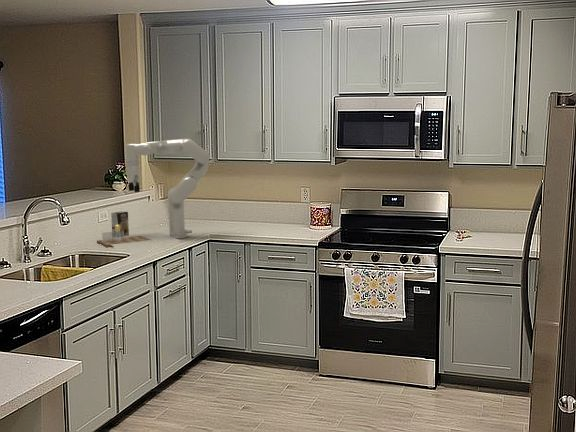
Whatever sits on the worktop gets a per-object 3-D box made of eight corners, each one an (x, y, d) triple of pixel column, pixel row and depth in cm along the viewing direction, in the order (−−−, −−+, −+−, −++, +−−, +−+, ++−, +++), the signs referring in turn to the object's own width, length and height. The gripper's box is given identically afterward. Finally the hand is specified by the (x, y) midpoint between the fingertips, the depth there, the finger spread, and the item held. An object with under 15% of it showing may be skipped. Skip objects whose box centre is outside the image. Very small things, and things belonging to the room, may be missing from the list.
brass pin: (119, 240, 445) (119, 224, 443) (121, 241, 442) (120, 224, 441) (114, 240, 443) (114, 224, 442) (116, 241, 441) (115, 225, 439)
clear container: (118, 238, 452) (117, 228, 451) (125, 241, 441) (124, 231, 441) (97, 240, 446) (97, 230, 445) (104, 243, 435) (104, 233, 434)
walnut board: (140, 238, 461) (140, 235, 460) (151, 242, 445) (151, 239, 444) (96, 242, 446) (96, 240, 446) (106, 247, 430) (106, 245, 430)
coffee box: (119, 238, 460) (118, 213, 457) (112, 238, 463) (110, 212, 461) (129, 236, 467) (128, 211, 465) (122, 235, 471) (120, 211, 468)
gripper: (122, 163, 454) (123, 190, 456) (132, 164, 439) (133, 193, 442) (133, 162, 458) (135, 189, 460) (143, 164, 443) (145, 192, 445)
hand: (134, 191), depth 451 cm, fingers open, 9 cm apart
